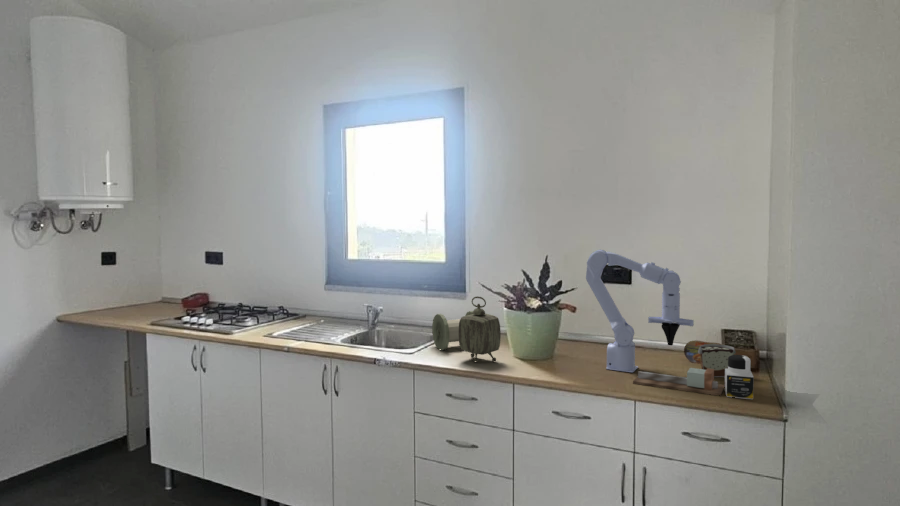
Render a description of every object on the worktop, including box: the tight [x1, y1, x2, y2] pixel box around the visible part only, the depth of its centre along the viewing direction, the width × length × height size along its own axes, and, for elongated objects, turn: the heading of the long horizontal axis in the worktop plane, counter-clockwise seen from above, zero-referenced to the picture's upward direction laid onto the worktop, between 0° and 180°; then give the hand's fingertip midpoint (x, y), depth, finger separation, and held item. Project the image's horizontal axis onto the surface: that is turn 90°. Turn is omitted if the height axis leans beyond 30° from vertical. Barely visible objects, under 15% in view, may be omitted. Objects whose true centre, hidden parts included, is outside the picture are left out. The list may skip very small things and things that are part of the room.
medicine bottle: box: [724, 354, 755, 400], centre depth 166 cm, size 7×7×12 cm
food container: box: [698, 344, 737, 378], centre depth 188 cm, size 12×6×10 cm, turn 92°
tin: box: [683, 339, 723, 365], centre depth 202 cm, size 15×3×8 cm, turn 47°
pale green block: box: [686, 367, 706, 388], centre depth 174 cm, size 5×6×4 cm
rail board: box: [632, 368, 725, 397], centre depth 177 cm, size 26×10×6 cm, turn 58°
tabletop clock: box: [458, 296, 502, 362], centre depth 210 cm, size 14×9×25 cm, turn 48°
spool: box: [431, 310, 474, 351], centre depth 233 cm, size 16×15×15 cm
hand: (670, 344), depth 191 cm, fingers closed
